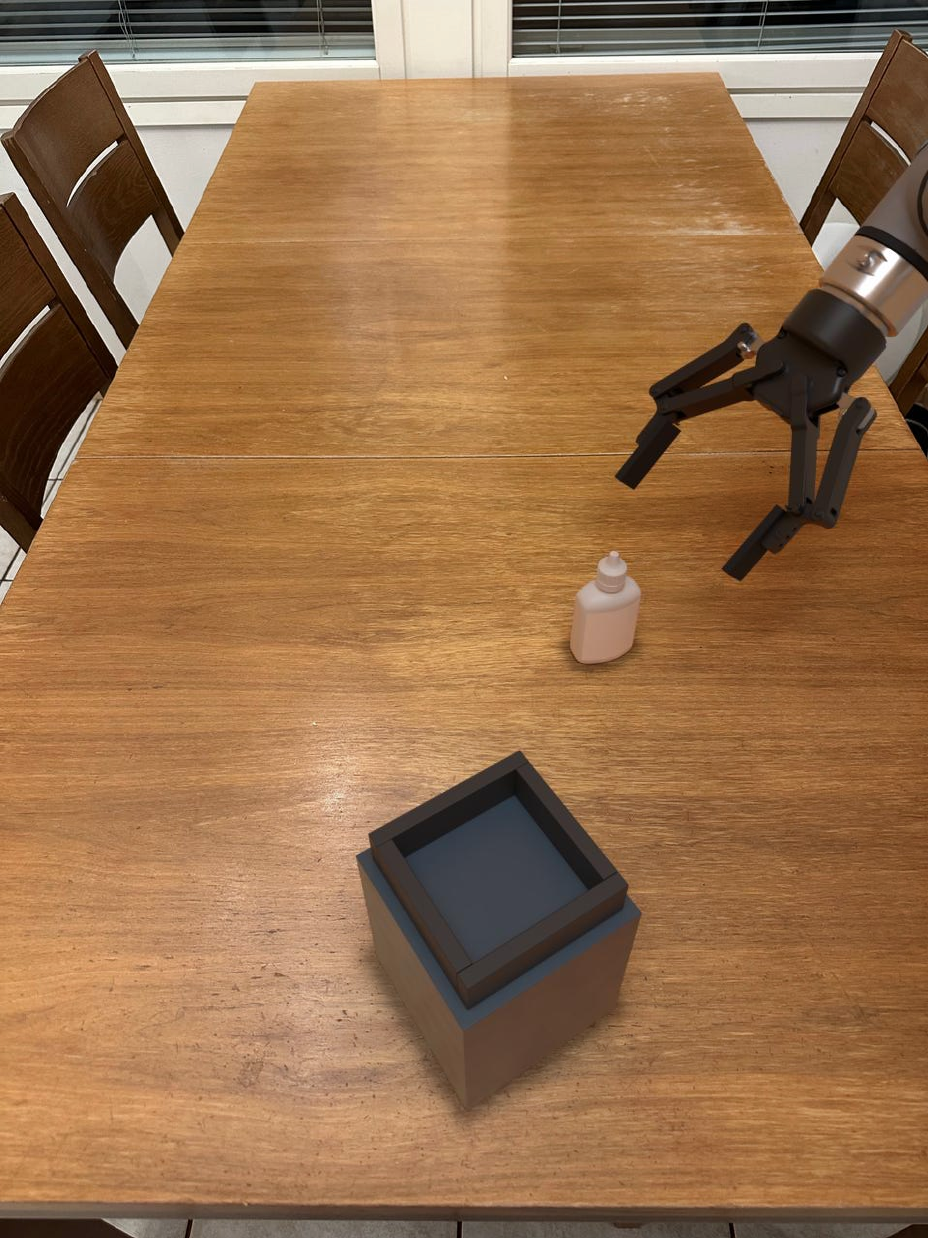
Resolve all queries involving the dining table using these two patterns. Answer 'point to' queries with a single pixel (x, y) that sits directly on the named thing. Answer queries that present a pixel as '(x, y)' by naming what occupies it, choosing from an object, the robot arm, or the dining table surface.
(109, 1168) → the dining table surface
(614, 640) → the eye dropper bottle
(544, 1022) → the pedestal
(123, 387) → the dining table surface
